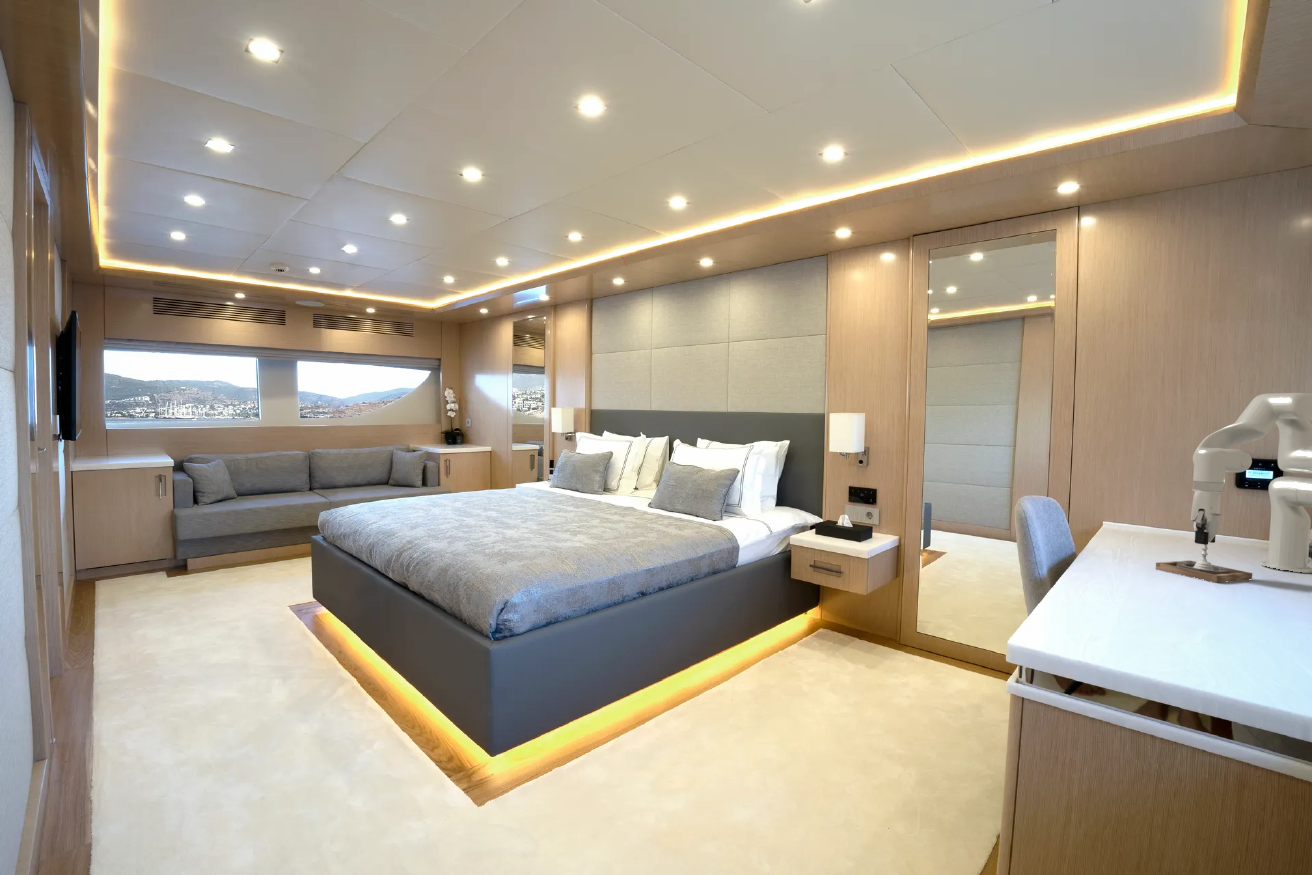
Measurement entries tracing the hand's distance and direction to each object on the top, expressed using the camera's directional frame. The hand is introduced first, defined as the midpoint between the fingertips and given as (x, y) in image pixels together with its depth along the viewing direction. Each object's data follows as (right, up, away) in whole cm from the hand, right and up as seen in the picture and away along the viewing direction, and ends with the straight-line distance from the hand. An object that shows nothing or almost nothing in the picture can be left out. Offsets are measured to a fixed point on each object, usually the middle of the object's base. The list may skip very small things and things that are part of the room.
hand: (1204, 542), depth 197 cm
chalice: (0, -9, 0) cm, 9 cm away
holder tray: (-1, -10, 0) cm, 10 cm away
